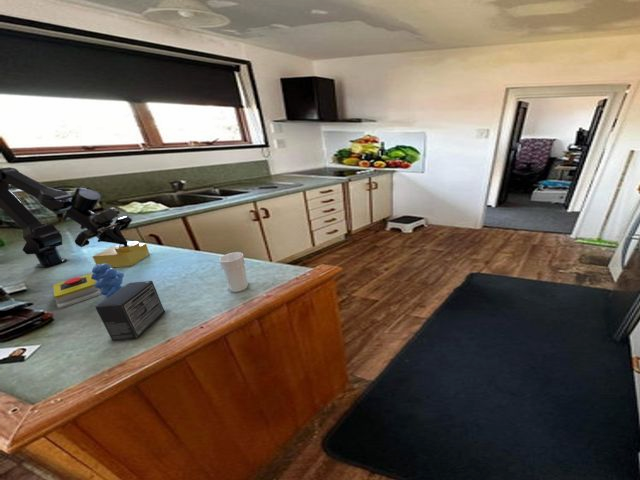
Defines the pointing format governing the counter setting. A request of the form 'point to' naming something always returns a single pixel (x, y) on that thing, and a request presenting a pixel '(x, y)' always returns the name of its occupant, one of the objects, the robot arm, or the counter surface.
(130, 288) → the small box
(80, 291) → the emergency button
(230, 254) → the cup
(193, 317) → the counter surface
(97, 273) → the grapes
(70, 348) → the counter surface
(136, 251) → the yellow angular block
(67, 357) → the counter surface
